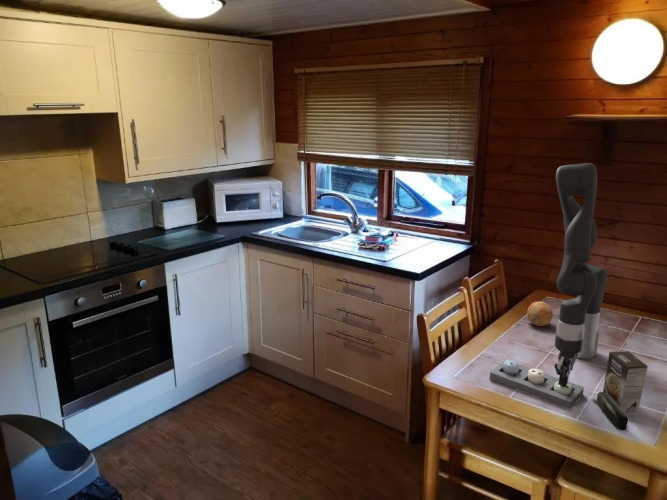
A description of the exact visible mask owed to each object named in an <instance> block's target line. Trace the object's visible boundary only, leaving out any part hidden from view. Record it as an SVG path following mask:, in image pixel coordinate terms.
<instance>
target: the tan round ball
mask: <svg viewBox="0 0 667 500" xmlns="http://www.w3.org/2000/svg"><path fill="white" fill-rule="evenodd" d="M526 316H527V319H528V322H530V323H531V324H533V325H535V326H537V327H545V326H547V325H549V324H550V323H551V321H553V316H554V313H553V310H552V308H551V306H550V305H549V304H547V303H546V302H544V301H534V302H532V303H531V304H530V305H529V306H528V309H527V310H526Z"/></svg>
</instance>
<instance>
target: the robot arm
mask: <svg viewBox="0 0 667 500" xmlns="http://www.w3.org/2000/svg"><path fill="white" fill-rule="evenodd" d="M597 171H598V170H597V167H596V165H595V164H594V163H591V162H590V163H589V162H586V163H576V164H575V163H574V164H565V165H561V166H559V167H558V168H557V169H556V172H555V173H556V174H555V182H556V187H557V188H556V189H557V193H558V197H559V200H560V206H561V210H562V216H563V225H564V231H565V232H564V248H563V251H564V253H563V260H562V264H561V269H560V271H559V274H558V275H557V279H556V287H557V289H558V291H559V293H561V294H563V295H573V296H576V297H575V298H570V299H565V300H562V302H561V304H560V307H559V314H558V315H559V316H558V320H557V324H556V331H555V340H554V346H555V349H557V351H559V353H558V355H557V360H558V361H557V363H555V364H554V366H553V367H554V369H555V370H554V371H555V373H556V375H558V376H559V377H558V378H559V385H561V386H564V387H565V386H566V385H567V384H568V382H569V377H570V374H571V371H573V369H574V366H575V363H576V360H577V359H583V360H584V359H587V360H588V359H591V358H593V357H597V352H598V346H599V340H600V333H601V332H600V331H599V330H598V328H599V322H600V315H601V308H602V303H603V301H604V294H605V289H606V285H607V281H608V272H607V270H606V269H605V268H603V267H600V266H596V265H591V264H587V263H589V262H590V259H591V251H592V249H593V248H594V246H595V245H596V243H597V241H598V232H597V224H596V222H595V221H596V220H595V218H594V214H595V213H594V212H595V207H596V197H597V189H598V172H597ZM577 195H578V196H579V195H581V196H582V195H584V196H583V201H582V204H581V205H580V204H579V203H578V202H577V201H576V198H575V197H574V196H577Z"/></svg>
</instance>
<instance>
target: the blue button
mask: <svg viewBox="0 0 667 500" xmlns="http://www.w3.org/2000/svg"><path fill="white" fill-rule="evenodd" d="M505 360H506V361H504V360H503V361H504V362H503V361H502V362H503V373H506V374H508V375H511V376H514V377H516V376H517V375H518V372H519V365H520V363H519V362H517V360H511V359H505Z"/></svg>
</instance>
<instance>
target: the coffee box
mask: <svg viewBox="0 0 667 500" xmlns="http://www.w3.org/2000/svg"><path fill="white" fill-rule="evenodd" d="M605 371H606V372H605V377H604V383H603V389H602V390H603V391H602V392H605V393H606V394H608V395H610V396H611V397H612V399H613V400H614V402H615V403H616V404H617V405H618V407H619V408H620V409H621V410H622V411H623V412H624V414H625V415H637V414H639V411H640V405H641V400H642V395H643V390H644V387H645V386H644V385H645V381H646V376H647V371H648V365H647V364H646V363H644V362H643V361H641V360H640V359H639V358H638V357H637V356H635V355H634V354H633V353H631V352H630V351H628V350H626V351H619V350H617V351H609V352H608V360H607V365H606V370H605Z"/></svg>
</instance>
